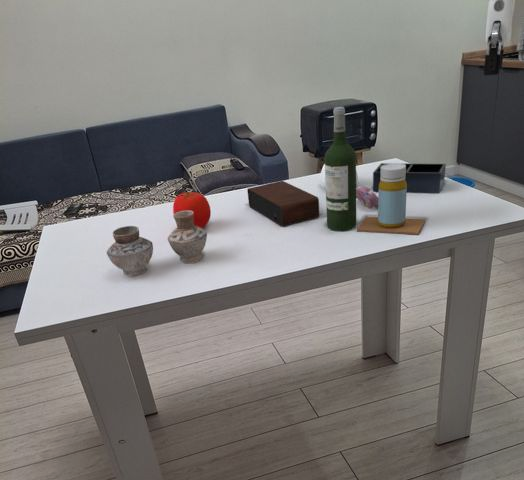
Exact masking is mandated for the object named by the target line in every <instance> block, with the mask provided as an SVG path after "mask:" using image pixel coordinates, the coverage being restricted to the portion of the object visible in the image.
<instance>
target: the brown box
mask: <svg viewBox="0 0 524 480" xmlns="http://www.w3.org/2000/svg"><path fill="white" fill-rule="evenodd" d="M247 201H248V207H249V208H251V209H252V210H254V211H255V212H257V213H259V214H260V215H262V216H263V217H265V218H267V219H268V220H270V221H272V222H273V223H274V224H277V225H278V226H280V227H281V228H283V227H286V226H289V225H293V224H297V223H301V222H305V221H309V220H314V219H316V218H320V199H319V197H318V196H317V195H314V194H312V193H310V192H308V191H306V190H304V189H301V188H300V187H297V186H295V185H293V184H290V183H288V182H286V181H284V180H279V181H274V182H271V183H266V184H261V185H256V186H252V187H249V188H247Z"/></svg>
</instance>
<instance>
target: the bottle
mask: <svg viewBox="0 0 524 480" xmlns="http://www.w3.org/2000/svg"><path fill="white" fill-rule="evenodd" d="M389 163H390V164H385V165H382V166H381V174H380V175H381V177H380V179H381V180H380V183H379V192H378V196H377V197H378V208H377V211H378V212H377V217H378V223H379V224H380V226H382V227H385V228H397V227H400V226H402V225H403V224H404V223H405V218H406V210H407V194H408V193H407V183H406V180H405V174H406V165H404V164H401V163H399V162H397V163H396V162H389Z"/></svg>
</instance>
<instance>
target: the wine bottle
mask: <svg viewBox="0 0 524 480" xmlns="http://www.w3.org/2000/svg"><path fill="white" fill-rule="evenodd" d="M332 113H333V142H332V144H331V145H330V146H329V148H328V149H327V150H326V151H325V153H324V164H325V183H326V189H325V208H326V209H325V210H326V227H327V229H328V230H329V231H333V232H346V231H351V230H353V229H355V228H356V226H357V198H356V188H357V182H356V171H357V153H356V151H355V149H354V148H353V147H352V146H351V144H349V143H348V141H347V134H346V133H347V132H346V108H345V107H344V106H335V107H333V112H332Z"/></svg>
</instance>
